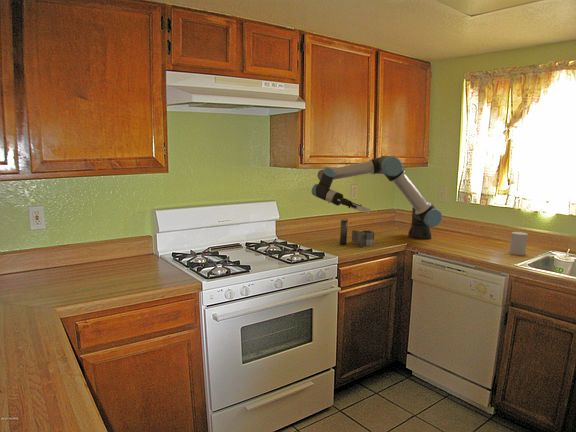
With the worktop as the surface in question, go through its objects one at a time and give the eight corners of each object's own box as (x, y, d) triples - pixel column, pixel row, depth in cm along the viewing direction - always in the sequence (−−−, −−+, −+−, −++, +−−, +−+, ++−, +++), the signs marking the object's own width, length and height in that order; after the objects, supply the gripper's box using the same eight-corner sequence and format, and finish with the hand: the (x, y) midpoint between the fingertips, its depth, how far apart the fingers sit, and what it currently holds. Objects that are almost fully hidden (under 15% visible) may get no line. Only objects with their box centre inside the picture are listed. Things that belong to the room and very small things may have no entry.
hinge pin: (341, 243, 260) (342, 217, 257) (348, 244, 257) (349, 218, 255) (338, 244, 256) (339, 218, 253) (344, 246, 253) (346, 219, 251)
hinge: (354, 241, 267) (355, 228, 266) (375, 244, 259) (376, 231, 258) (345, 245, 255) (345, 232, 254) (366, 248, 248) (367, 235, 246)
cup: (528, 255, 241) (530, 234, 239) (514, 255, 241) (517, 234, 239) (519, 251, 249) (521, 231, 247) (506, 251, 249) (508, 231, 247)
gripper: (340, 205, 265) (370, 218, 255) (323, 201, 243) (355, 214, 233) (345, 194, 264) (375, 206, 254) (328, 189, 243) (360, 202, 232)
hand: (366, 210), depth 243 cm, fingers open, 13 cm apart
